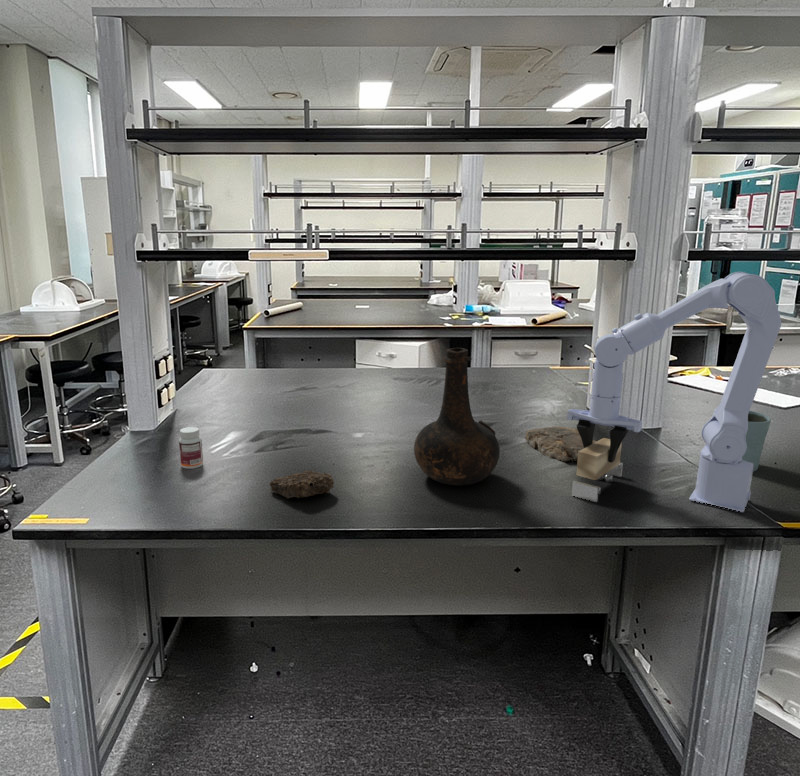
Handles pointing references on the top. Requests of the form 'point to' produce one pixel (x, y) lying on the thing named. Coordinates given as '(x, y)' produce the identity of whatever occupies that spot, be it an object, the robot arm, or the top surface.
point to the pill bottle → (190, 448)
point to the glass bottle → (456, 433)
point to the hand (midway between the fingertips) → (599, 458)
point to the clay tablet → (556, 442)
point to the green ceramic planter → (755, 437)
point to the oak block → (596, 460)
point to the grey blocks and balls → (592, 491)
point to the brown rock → (302, 484)
